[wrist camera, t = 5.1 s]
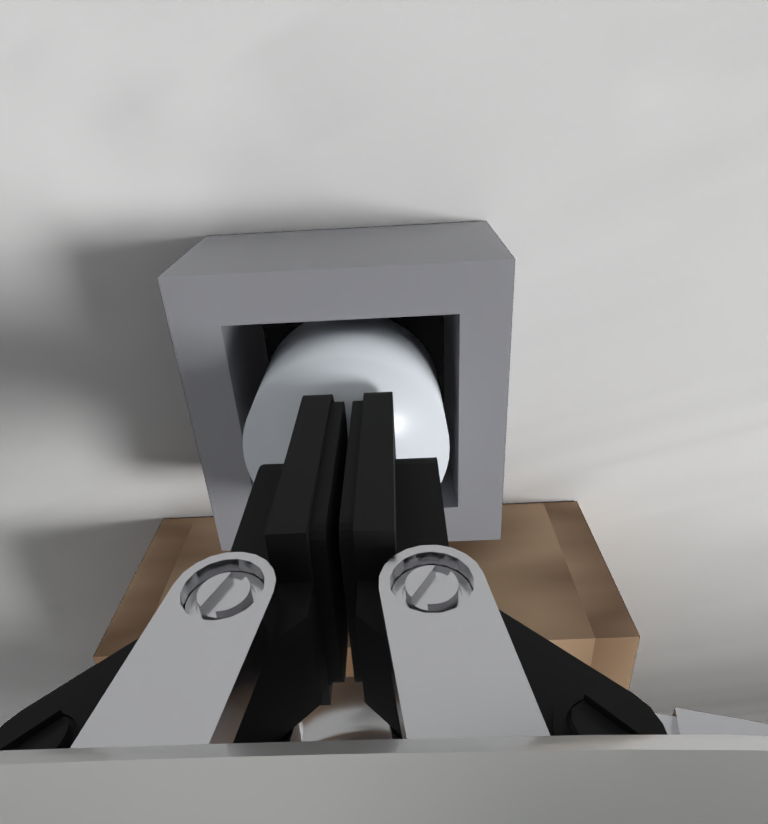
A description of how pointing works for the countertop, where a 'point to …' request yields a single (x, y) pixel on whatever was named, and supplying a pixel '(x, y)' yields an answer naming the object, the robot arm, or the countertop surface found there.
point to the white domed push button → (348, 387)
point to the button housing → (344, 300)
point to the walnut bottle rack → (498, 559)
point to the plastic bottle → (345, 717)
